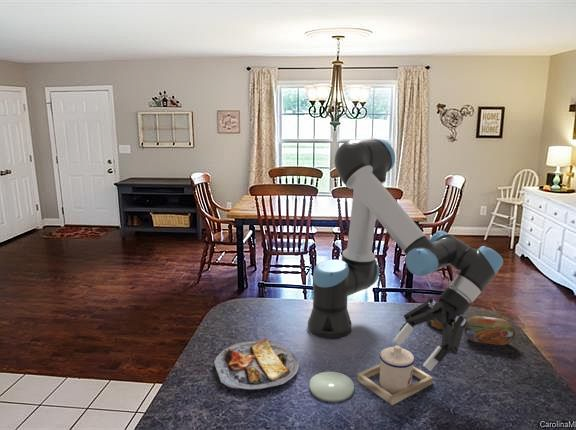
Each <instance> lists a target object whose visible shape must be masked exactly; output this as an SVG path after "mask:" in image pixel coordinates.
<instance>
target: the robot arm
mask: <svg viewBox="0 0 576 430" xmlns="http://www.w3.org/2000/svg"><path fill="white" fill-rule="evenodd" d="M395 163H396V154H395V150H394V148H393V147H392V146H391V144H390V143H389V142H388V141H386V140H384V139H381V138H375V137H374V138H371V137H370V138H364V139H363V138H362V139H349V140H347V141H345V142H343V143H342V144H341V145H340V146H339V147H338V149H337V150H336V152H335V155H334V167H335V171H336V172H337V175H338V177H339V179H340V180H341V181H342V183H343V184H344V185H345V187H346V188H348V189H351V190H353V194H352V203H351V210H350V211H351V212H350V220H349V228H348V229H349V231H348V237H347V239H348V240H347V247H346V249H344V250H343V251H342V254H341V259H331V260H330V259H327V260H323V261H320V262H318V264H316V265H315V267H314V269H313V274H312V275H313V276H312V299H313V300H312V309H311V312H310V316H309V318H308V320H307V329H308V330H309V331H308V330H307V331H308V332H309V333H310V334H311V333H312V335H313V336H314V335H315V337H317V338H319V339H320V338H321V339H325V340H338V339H342V337H343V338H345V337H347V336H349V335H350V334H351V332H352V325H353V323H352V320H351V317H350V314H349V310H348V297H349V296H351V295H353V294H356V293H358V292H361V291H363V290H366V289H369V288H370V287H372V286H373V285H375V284H376V282H377V281H378V279H379V276H380V266H379V264H378V261H377V259H376V255H375V254H374V252H372V251H373V243H374V236H375V230H376V229H375V227H376V220H377V221H378V222H379V223H380V224H381V225H382V227H383V228H384V229H385V231H386V232H387V233H388V234H389V235H390V237H391V238H392V239H393V240H394V241H395V242H396V244H397V245H398V247H399V248H400V249H401V250H402V252H403V253H404V254H405V260H404V261H405V264H406V268H407V269H408V272H410V273H411V274H412V275H415V276H417V277H423V276H427V275H431V274H433V273H435V272H436V271H439V270H440V269H443V268H445V267H447V266H451V267H452V268H454V269H456V270H457V271H459V272H458V274H456V276H455V277H454V278H453V280H451V282H450V283H449V284H448V287H446V288H445V290H443V292H442V293H441V294H440V296H439V300H438V301H437V302H436V301H435V300H434V299H433V298H432V297H429V298H428V299H426V300H425V302H423V303H421V304H420V305H419V306H417V307H415V308H414V309H412V310H410V311H408V312H407V313H405V314H403V318H404V319H405V322H404V324H403V325H402V326H401V327H400V329H399V332H398V333H397V334H396V335H395V337H394V338H393V339H392V340H393V342H394V343H395V344H396V345H397V346H400V347H401V345H402V343H404V341H405V340H406V339H407V338H408V337H409V335H410V334H411V333H412V331H414V329H415V326H417V325H420V324H423V323H428V322H427V321H430V320H436V321H437V322H440V323H441V324H442V325H443V330H441V331H442V335H441V344H440V345H437V346H436V348H435V349H434V350H433V351H432V353H431V354H430V355H429V356H428V358H427V359H426V360H425V361H424V362H423V364H422V366H423V367H424V368H426V369H427V370H428V371H429V372H431V371H432V370H433V369H434V368H435V366H436V365H437V364H438V362H439V363H440V362H442V361H443V360H444V358H445V357H446V356H447V355H448V354H452V355H457V354H458V351H459V348H460V344H461V341H462V337H463V334H464V333H463V332H464V328H465V326H466V324H467V321H466V320H467V319H466V318H465V317H464V316H462V315H464V314H465V313H466V311H467V310H468V309H469V308H470V307H471V306H470V305H471V304H472V303H474V302H475V300H476V299H477V298H478V297H479V296H480V294H481V293H482V292H483V290H484V289H485V288H487V287H486V286H487V285H488V284H489V283H490V282H491V280H493V279H494V277H495V276H496V275H497V273H498V272H499V270H500V269H501V267H502V266H503V265H504V260H503V259H504V258H503V257H502V256H501V255H500V254H499V253H498V251H495V250H494V249H493V248H491V247H488V246H485V245H482V246H480V247H479V248H477V249H475V248H473V247H472V246H470V245H468V244H467V243H465V242H464V241H461V240H460V239H458V238H457V237H455V236H454V235H452V234H450V233H448V232H447V231H445V230H438V231H436V232H435V233H433V235H432V236H431V237H430V239H429V238H428V237H427V235H426V234H425V233H424V232H423V231H422V230H421V229H420V227H419V225H417V223H416V222H415V221H414V220H413V219H412V218H411V217H410V215H409V214H408V213H407V212H406V211H405V210H404V209H403V207H402V206H401V205H400V204H399V203H398V201H397V200H396V199H395V197H393V195H392V194H391V193H390V191H388V189H387V188H386V187H385V186H384V185H383V184H385V182H386V181H387V173H388V172H390V171H391V170H392V169H393V167H394V165H395ZM432 313H433V314H432ZM455 321H456V322H455ZM453 322H455V325H454V328H453Z"/></svg>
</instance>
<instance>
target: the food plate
mask: <svg viewBox="0 0 576 430" xmlns="http://www.w3.org/2000/svg"><path fill="white" fill-rule="evenodd" d="M213 363H214V366H215V369H216V373H217V374H218V375H217V376H218V377H219V382H220V383H222V384H223V385H225V386H226V387H228V388H231V389H243V390H261V389H267V388H273V387H276V386H279V385H283V384H285V383H288V381H290V380H291V379H292V378H293V377H294V376H295V375H296V374H297V372H298V371H299V366H300V364H299V361H298V359H297V358H296V356H295V354H294V353H293V352H292V350H290V349H289V347H287V346H285V345H283V344H280V343H277V342H273V341H270V340H268V338H264V339H262V340H257V339H256V340H255V339H254V340H249V341H248V340H247V341H241V342H236V343H234V344H231V345H230V346H228V347H225V348H224V349H222V350H221V351H220V352H219V353H218V355H216V357H215V359H214V361H213ZM235 376H238V379H236V378H235ZM263 376H264V377H263ZM242 378H244V379H248V383H247V382H245V383H243V382H240V381H239V380H243V379H242ZM263 378H266V379H267V380H268V381H269V382H265V383H262V382H263Z"/></svg>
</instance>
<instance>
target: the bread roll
mask: <svg viewBox="0 0 576 430" xmlns="http://www.w3.org/2000/svg"><path fill="white" fill-rule="evenodd" d="M432 314H433V313H432ZM455 322H456V321H455ZM455 322H453V328H454V325H455ZM426 323H427V324H428V325H429V326H431V327H433V328H435V329H437V330H441V331H443V325H442V324H441V323H440V322H437V321H436V320H430V321H427V322H426Z"/></svg>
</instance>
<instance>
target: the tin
mask: <svg viewBox="0 0 576 430" xmlns="http://www.w3.org/2000/svg"><path fill="white" fill-rule="evenodd" d="M465 320H466V321H467V324H466V326H465V328H464V329H463V332H464V335H465V336H466V337H467V339H469V340H470V341H472V342H474V343H480V344H489V345H497V346H506V345H509V344H510V343H513V340H514V339H515V337H516V330H515V328H514V327H513V324H512V323H510V322H509V321H508V320H507V319H504V318H500V317H499V318H498V317H491V316H482V315H473V316H470V317H468V318H467V319H465Z"/></svg>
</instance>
